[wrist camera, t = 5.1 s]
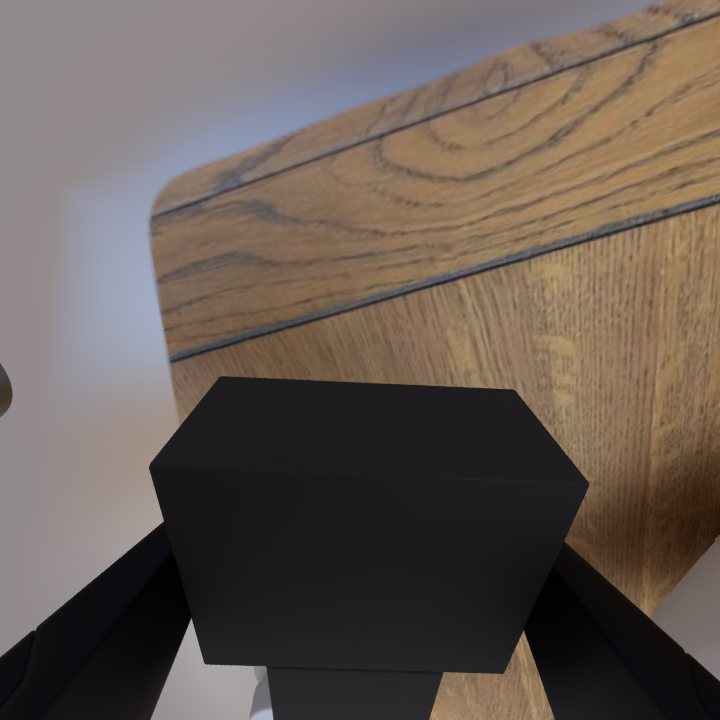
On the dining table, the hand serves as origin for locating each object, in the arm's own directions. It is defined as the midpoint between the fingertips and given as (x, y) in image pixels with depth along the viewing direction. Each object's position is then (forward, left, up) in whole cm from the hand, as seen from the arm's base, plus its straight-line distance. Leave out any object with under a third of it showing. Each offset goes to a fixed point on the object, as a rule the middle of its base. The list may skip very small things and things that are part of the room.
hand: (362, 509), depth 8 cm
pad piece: (0, -2, -1) cm, 2 cm away
